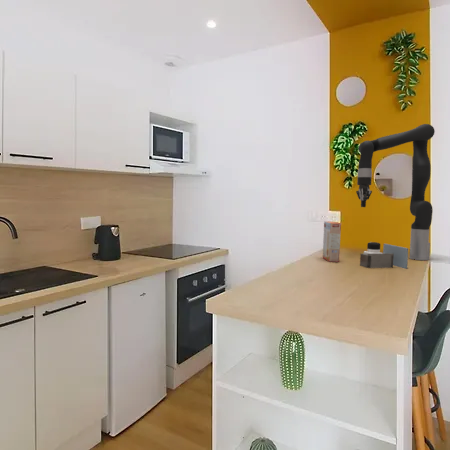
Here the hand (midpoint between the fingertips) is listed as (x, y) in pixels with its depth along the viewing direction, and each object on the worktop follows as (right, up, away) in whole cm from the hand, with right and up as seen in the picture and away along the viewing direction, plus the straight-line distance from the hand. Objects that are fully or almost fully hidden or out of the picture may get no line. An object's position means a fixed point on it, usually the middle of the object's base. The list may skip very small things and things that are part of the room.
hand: (363, 207), depth 218 cm
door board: (+7, -31, -24) cm, 40 cm away
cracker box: (-21, -30, -10) cm, 38 cm away
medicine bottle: (-5, -31, -27) cm, 41 cm away
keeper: (-4, -31, -28) cm, 42 cm away
